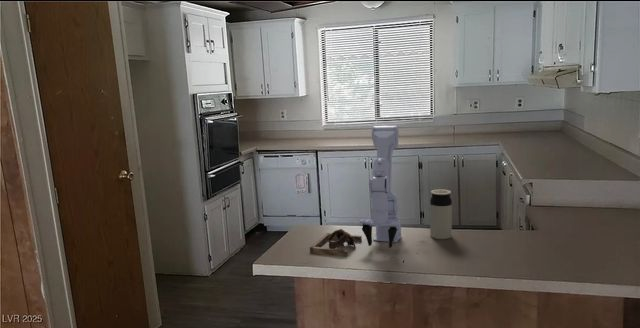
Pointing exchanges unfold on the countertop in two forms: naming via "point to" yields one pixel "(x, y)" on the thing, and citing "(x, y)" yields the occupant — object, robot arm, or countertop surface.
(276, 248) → the countertop surface
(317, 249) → the bar
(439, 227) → the travel mug
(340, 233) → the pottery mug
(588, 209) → the countertop surface
